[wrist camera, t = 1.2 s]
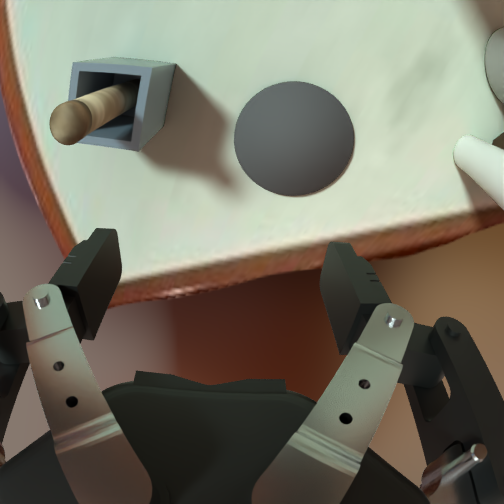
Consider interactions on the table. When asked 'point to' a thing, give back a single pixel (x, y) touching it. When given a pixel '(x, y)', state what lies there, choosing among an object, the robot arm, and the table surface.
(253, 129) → the gray disc
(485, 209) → the table surface
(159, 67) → the deep cup
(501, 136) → the beer bottle
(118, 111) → the beech dowel
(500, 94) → the cylinder vase
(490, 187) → the drinking glass
